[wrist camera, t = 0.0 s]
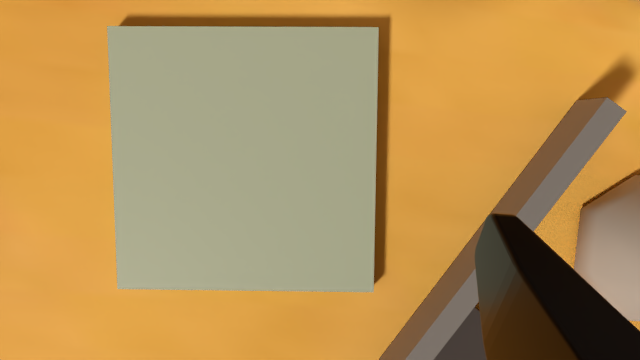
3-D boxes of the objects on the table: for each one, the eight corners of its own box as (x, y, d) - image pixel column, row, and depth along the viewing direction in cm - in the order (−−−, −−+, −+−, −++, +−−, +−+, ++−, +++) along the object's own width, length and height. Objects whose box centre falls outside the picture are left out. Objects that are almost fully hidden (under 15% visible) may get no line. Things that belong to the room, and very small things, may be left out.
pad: (372, 286, 24) (373, 291, 23) (124, 283, 24) (117, 288, 23) (376, 30, 22) (378, 27, 22) (115, 29, 23) (107, 26, 22)
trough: (583, 539, 25) (611, 585, 22) (359, 385, 24) (362, 414, 22) (810, 274, 23) (868, 291, 21) (576, 100, 23) (607, 97, 20)
